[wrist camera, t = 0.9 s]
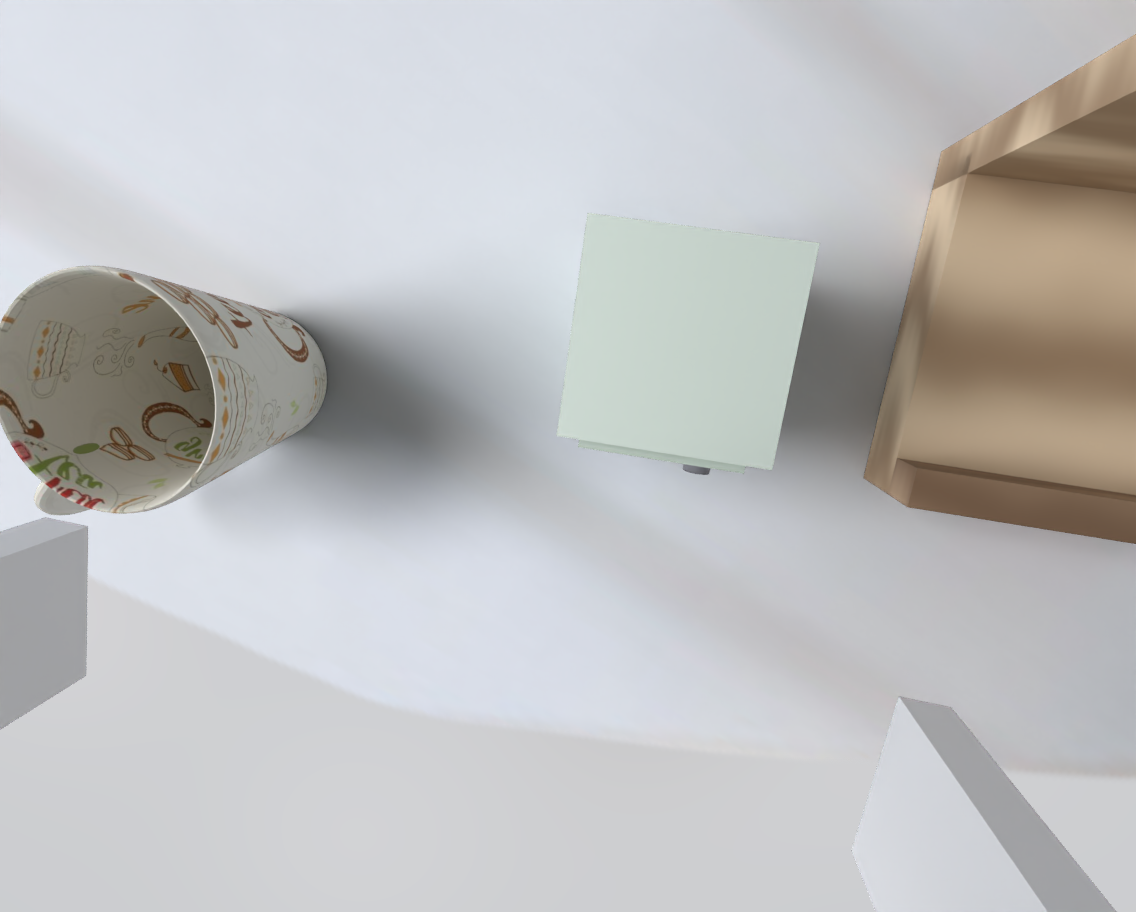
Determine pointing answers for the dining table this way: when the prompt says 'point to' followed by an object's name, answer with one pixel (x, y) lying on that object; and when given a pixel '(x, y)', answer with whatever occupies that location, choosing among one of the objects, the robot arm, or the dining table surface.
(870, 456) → the wooden stand
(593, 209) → the dining table surface
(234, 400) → the mug
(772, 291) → the cabinet block
